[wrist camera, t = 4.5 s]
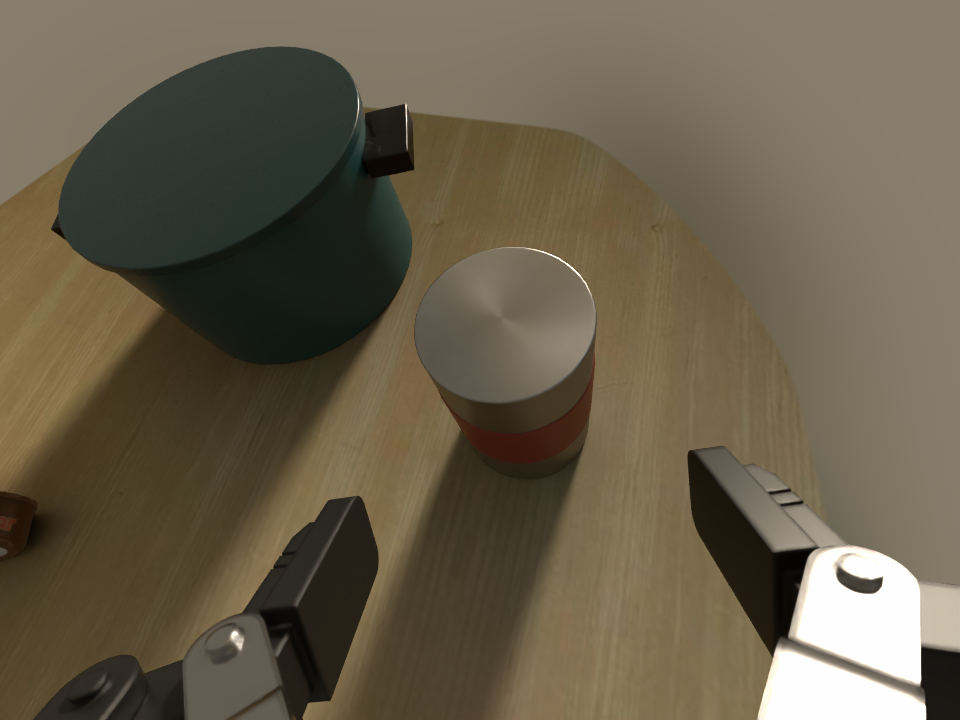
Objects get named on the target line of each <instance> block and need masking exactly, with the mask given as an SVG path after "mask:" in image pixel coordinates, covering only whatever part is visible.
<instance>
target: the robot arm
mask: <svg viewBox="0 0 960 720" xmlns="http://www.w3.org/2000/svg"><path fill="white" fill-rule="evenodd" d="M688 473H689V486H690V499H691V510H692V516H693V520H694V523H695V526H696V529H697V532H698V534H699V536H700V537H701V539H702V541H703V542H704V544H705V546H706V547H707V549H708V551H709V552H710V554H711V556H712V557H713V559H714V561H715V562H716V564H717V566H718V567H719V569H720V571H721V572H722V574H723V576H724V577H725V579H726V581H727V582H728V584H729V586H730V587H731V589H732V591H733V592H734V594H735V596H736V597H737V599H738V601H739V602H740V604H741V606H742V607H743V609H744V611H745V612H746V614H747V616H748V617H749V619H750V621H751V622H752V624H753V626H754V627H755V629H756V631H757V632H758V634H759V636H760V637H761V639H762V641H763V642H764V644H765V646H766V647H767V649H768V651H769V652H770V654H771V656H772V657H773V661H772V665H771V669H770V673H769V676H768V680H767V684H766V688H765V691H764V695H763V699H762V703H761V706H760V710H759V714H758V718H757V720H960V585H953V584H944V583H935V582H927V581H921V580H916V579H915V578H914V576H913V575H912V574H911V573H910V572H909V571H908V570H907V569H906V568H905V567H904V566H902V565H901V564H899V563H898V562H896V561H895V560H893V559H891V558H889V557H887V556H885V555H883V554H881V553H878V552H875V551H873V550H870V549H866V548H862V547H857V546H851V545H848V544H847V543H846V542H845V541H844V540H843V539H842V538H841V537H840V536H839V535H838V534H837V533H836V532H835V531H834V530H833V529H832V528H831V527H830V526H829V525H828V524H827V523H826V522H825V521H823V520H822V519H821V518H820V517H819V516H818V515H817V514H816V513H815V512H814V511H813V510H812V509H811V508H810V507H809V506H808V505H807V504H804V503H803V500H802V499H801V498H800V497H799V496H798V495H796V494H795V493H794V492H791V489H790V488H789V487H788V486H787V485H786V484H785V483H784V482H783V481H782V480H781V479H780V478H779V477H778V476H777V475H776V474H774V473H771V472H769V471H767V470H765V469H763V468H761V467H759V466H757V465H755V464H748V465H742V464H741V463H740V462H739V461H738V460H737V459H736V458H735V457H734V456H733V455H732V453H731V452H730V451H729V450H728V449H727V448H726V447H724V446H717V447H710V448H703V449H696V450H690V451H689V452H688ZM377 571H378V549H377V545H376V542H375V538H374V535H373V531H372V528H371V525H370V521H369V518H368V515H367V511H366V508H365V505H364V502H363V500H362V498H361V497H359V496H353V497H346V498H339V499H332V500H329V501H327V503H326V504H325V506H324V507H323V509H322V511H321V512H320V514H319V515H318V517H317V519H316V520H315V522H311V523H309V524H307V525H306V526H305V527H304V528H303V529H302V530H301V531H299V532H298V533H297V534H296V535H295V536H294V537H293V538H292V539H291V541H290V542H289V544H288V545H287V547H286V548H285V550H284V551H283V552H282V556H280V557H279V558H278V560H277V561H276V563H275V564H274V569H271V570H270V572H269V573H268V575H267V576H266V578H265V579H264V581H263V582H262V584H261V585H260V587H259V588H258V590H257V591H256V593H255V594H254V596H253V597H252V599H251V600H250V602H249V603H248V605H247V606H246V608H245V609H244V611H243V612H242V613H240V614H236V615H233V616H230V617H228V618H226V619H224V620H222V621H220V622H218V623H216V624H215V625H213V626H212V627H210V628H209V629H208V630H206V631H205V632H204V633H203V634H201V635H200V636H199V637H198V638H197V639H196V640H195V642H194V643H193V644H192V645H191V646H190V648H189V649H188V651H187V653H186V655H185V657H184V659H183V660H180V661H177V662H175V663H172V664H169V665H166V666H164V667H161V668H158V669H156V670H153V671H150V672H147V673H145V674H144V673H143V671H142V669H141V667H140V665H139V663H138V661H137V659H136V658H135V657H134V656H131V655H119V656H115V657H111V658H108V659H106V660H103V661H101V662H99V663H97V664H95V665H93V666H91V667H90V668H88V669H86V670H85V671H83V672H82V673H80V674H79V675H77V676H76V677H75V678H73V679H72V680H71V681H69V682H68V683H67V684H66V685H65V686H64V687H63V688H61V689H60V690H59V691H58V692H57V693H56V694H55V696H54V697H53V698H52V699H51V700H50V701H49V702H48V703H47V704H46V706H45V707H44V708H43V709H42V710H41V711H40V712H39V713H38V714H37V716H36V717H35V718H34V719H33V720H303V718H302V716H303V714H304V712H305V709H306V707H307V704H308V703H311V702H322V701H331V698H332V695H333V693H334V690H335V687H336V684H337V682H338V679H339V676H340V673H341V671H342V668H343V665H344V662H345V660H346V657H347V654H348V651H349V649H350V646H351V643H352V640H353V638H354V635H355V632H356V630H357V627H358V624H359V621H360V619H361V616H362V613H363V610H364V608H365V605H366V602H367V599H368V597H369V594H370V591H371V588H372V586H373V583H374V580H375V577H376V575H377Z"/></svg>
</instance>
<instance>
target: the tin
mask: <svg viewBox="0 0 960 720" xmlns="http://www.w3.org/2000/svg"><path fill="white" fill-rule="evenodd" d="M37 507H38V505H37V503H36V501H34V500H32V499H30V498H28V497H25V496H21V495H18V494H13V493H7V492H2V491H0V560H4V559H7V558H10V557H13V556H15V555H17V554H19V553H20V552H22V551H23V549H24V547H25V545H26V543H27V539H28V535H29V531H30V526H31V522H32V518H33V514H34V512H35V510H36V509H37Z"/></svg>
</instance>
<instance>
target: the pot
mask: <svg viewBox="0 0 960 720" xmlns="http://www.w3.org/2000/svg"><path fill="white" fill-rule="evenodd" d="M411 170H414V149H413V122H412V119H411V116H410V113H409V110H408V107H407V105H406V104H403V105H399V106H394V107H390V108H385V109H381V110H377V111H372V112H368V113H365V119H364V117H363V107H362V101H361V97H360V94H359V91H358V88H357V86H356V84H355V82H354V80H353V78H352V76H351V75H350V73H349V72H348V71H347V70H346V69H345V68H344V67H343V66H342V65H341V64H340V63H338V62H337V61H336V60H334V59H333V58H331V57H329V56H327V55H325V54H322V53H320V52H316V51H312V50H309V49H303V48H297V47H264V48H257V49H250V50H245V51H240V52H236V53H232V54H228V55H225V56H221V57H218V58H215V59H212V60H209V61H206V62H204V63H201V64H198V65H196V66H194V67H192V68H189V69H187V70H184V71H182V72H180V73H178V74H176V75H174V76H172V77H170V78H169V79H167V80H165V81H163V82H162V83H160V84H158V85H156V86H155V87H153V88H151V89H150V90H148V91H147V92H145V93H144V94H142V95H141V96H139V97H138V98H136V99H135V100H134V101H133V102H131V103H130V104H128V105H127V106H126V107H125V108H123V109H122V110H121V111H120V112H119V113H117V114H116V115H115V116H114V117H113V118H112V119H110V120H109V121H108V122H107V123H106V124H105V125H104V126H103V127H102V128H101V129H100V130H99V131H98V132H97V133H96V134H95V136H94V137H93V138H92V139H91V140H90V141H89V143H88V144H87V145H86V146H85V147H84V149H83V150H82V152H81V153H80V155H79V156H78V158H77V159H76V160H75V162H74V164H73V166H72V168H71V169H70V171H69V173H68V175H67V177H66V180H65V182H64V185H63V187H62V191H61V195H60V199H59V211H58V215H57V217H56V219H55V222H54V224H53V226H52V228H51V230H52V231H54V232H55V233H57V234H58V235H59V236H61V237H62V238H63V239H65V240H66V241H67V242H68V243H69V244H70V246H71V247H72V248H73V249H74V250H75V251H76V252H77V253H79V254H80V255H81V256H82V257H84V258H85V259H87V260H88V261H89V262H91V263H92V264H94V265H96V266H98V267H100V268H102V269H104V270H107V271H111V272H115V273H117V274H118V275H120V276H121V277H122V278H124V279H125V280H126V281H128V282H129V283H130V284H132V285H133V286H134V287H136V288H137V289H139V290H140V291H141V292H143V293H144V294H145V295H147V296H148V297H149V298H151V299H152V300H154V301H155V302H156V303H158V304H159V305H160V306H162V307H163V308H164V309H166V310H167V311H168V312H170V313H171V314H173V315H174V316H175V317H177V318H178V319H179V320H181V321H182V322H183V323H185V324H186V325H188V326H189V327H190V328H192V329H193V330H194V331H196V332H197V333H198V334H200V335H201V336H202V337H204V338H205V339H207V340H208V341H209V342H211V343H212V344H213V345H215V346H216V347H217V348H219V349H220V350H222V351H223V352H224V353H226V354H228V355H230V356H232V357H234V358H237V359H240V360H244V361H247V362H253V363H259V364H281V363H290V362H295V361H299V360H304V359H308V358H311V357H313V356H316V355H319V354H322V353H324V352H326V351H329V350H331V349H333V348H335V347H337V346H339V345H341V344H342V343H344V342H346V341H347V340H349V339H351V338H352V337H354V336H355V335H356V334H358V333H359V332H360V331H362V330H363V329H364V328H366V327H367V326H368V325H369V324H370V323H371V322H372V321H373V320H374V319H375V318H377V317H378V316H379V315H380V313H381V312H382V311H383V310H384V309H385V308H386V306H387V305H388V304H389V303H390V301H391V300H392V298H393V297H394V296H395V294H396V293H397V291H398V289H399V287H400V285H401V284H402V282H403V280H404V277H405V275H406V272H407V269H408V266H409V262H410V257H411V250H412V237H411V230H410V226H409V223H408V220H407V217H406V215H405V213H404V210H403V208H402V206H401V203H400V201H399V199H398V196H397V194H396V192H395V189H394V187H393V185H392V182H391V180H390V178H389V175H392V174H397V173H402V172H406V171H411Z"/></svg>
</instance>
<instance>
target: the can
mask: <svg viewBox="0 0 960 720" xmlns="http://www.w3.org/2000/svg"><path fill="white" fill-rule="evenodd" d="M596 326H597V313H596V307H595V302H594V299H593V296H592V293H591V291H590V289H589V288H588V286H587V284H586V283H585V281H584V280H583V278H582V277H581V276H580V275H579V274H578V273H577V272H576V271H575V270H574V269H573V268H572V267H571V266H570V265H568V264H567V263H566V262H564V261H562V260H561V259H559V258H557V257H555V256H553V255H551V254H548V253H546V252H542V251H539V250H535V249H530V248H521V247H503V248H496V249H491V250H487V251H482V252H480V253H477V254H474V255H471V256H469V257H467V258H465V259H463V260H461V261H459V262H458V263H456V264H454V265H453V266H451V267H450V268H449V269H447V270H446V271H445V272H444V273H443V274H442V275H440V276H439V277H438V278H437V279H436V280H435V282H434V283H433V284H432V285H431V286H430V288H429V289H428V291H427V292H426V294H425V295H424V297H423V299H422V301H421V303H420V306H419V309H418V312H417V315H416V320H415V328H414V337H415V345H416V349H417V353H418V356H419V358H420V360H421V363H422V364H423V366H424V368H425V369H426V371H427V373H428V374H429V376H430V377H431V379H432V381H433V382H434V384H435V385H436V387H437V389H438V391H439V393H440V395H441V397H442V399H443V401H444V402H445V404H446V406H447V407H448V409H449V410H450V412H451V414H452V415H453V417H454V418H455V420H456V422H457V423H458V425H459V426H460V428H461V430H462V431H463V433H464V434H465V436H466V437H467V439H468V440H469V441H470V442H471V444H472V445H473V447H474V449H475V450H476V452H477V453H478V455H479V456H480V457H481V458H482V460H483V461H484V462H485V463H487V464H488V465H489V466H490V467H491V468H493V469H494V470H496V471H498V472H500V473H502V474H504V475H507V476H510V477H515V478H522V479H533V478H540V477H544V476H547V475H550V474H553V473H555V472H557V471H559V470H560V469H562V468H563V467H565V466H566V465H568V464H569V463H570V462H571V461H572V460H573V459H574V458H575V456H576V455H577V454H578V453H579V451H580V450H581V448H582V446H583V444H584V442H585V439H586V436H587V433H588V426H589V414H590V410H591V403H592V391H593V379H594V368H595V353H594V351H595V339H596Z"/></svg>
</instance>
